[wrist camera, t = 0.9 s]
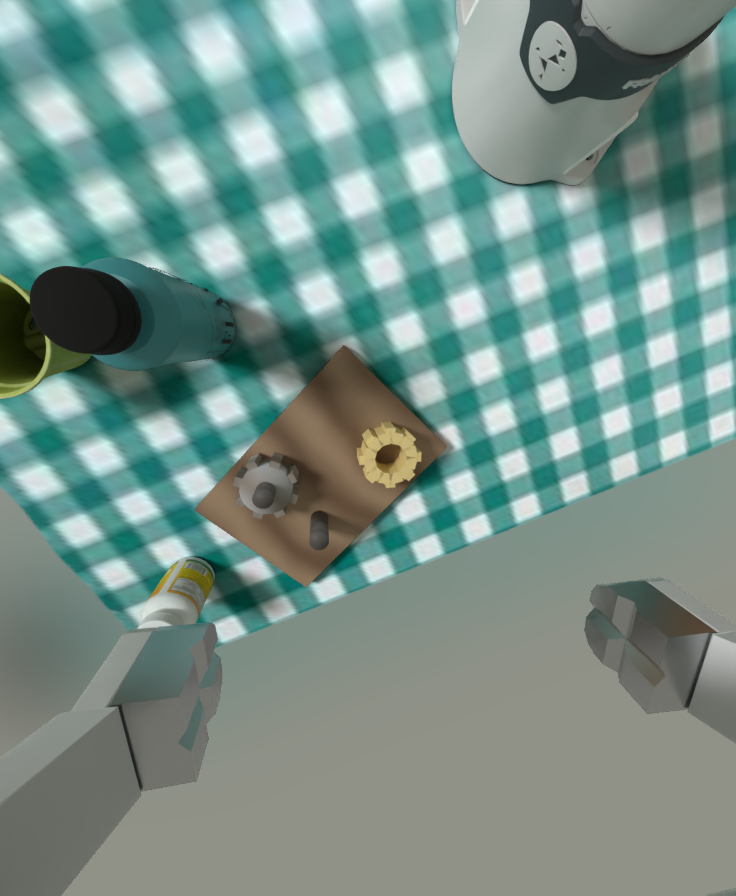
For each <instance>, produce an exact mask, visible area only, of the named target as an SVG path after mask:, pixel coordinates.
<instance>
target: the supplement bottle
mask: <svg viewBox="0 0 736 896" xmlns="http://www.w3.org/2000/svg"><path fill="white" fill-rule="evenodd" d="M214 580H215V574H214V571H213V569H212V567H211V565H210V564H208V563H207V562H206V561H204V560H202V559H200V558H196V557H185V558H182V559H179V560H177V561H176V562H175V563H174V564H173V565H172V566H171V567H170V568H169V570H168V571H167V573H166V574H165V576H164V577H163V579H162V580H161V582H160V583H159V584H158V586H157V587H156V589H155V590H154V592H153V593H152V595H151V596H150V598H149V599H148V601H147V602H146V604H145V605H144V607H143V609H142V613H141V621H142V622H141V623H140V625H139V627H138V628H137V629H141V628H154V627H156V628H158V627H161V626H174V625H188V624H195V623H196V621H197V619H198V617H199V615H200V612H201V610H202V608H203V606H204V603H205V601H206V599H207V597H208V595H209V592H210V590H211V588H212V586H213V583H214Z"/></svg>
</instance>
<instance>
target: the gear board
mask: <svg viewBox="0 0 736 896" xmlns="http://www.w3.org/2000/svg"><path fill="white" fill-rule="evenodd" d="M381 422H391V423H392V424H393V425H394V427H397V428H399V429H402V428H403V427H404V428H406V429H407V430H408V431H409V432H410V433H411V434H412V435H413V437H414V438H415V439H416V440H415V441H414V442H413V443H414V444H415V446H416V447H417V448H418V449H419V450H420V451H421V462H417V463H416V467H415V470H413V469H412V470H413V471H414V474H415V475H414V476H413V477H412V478H411V479H410V480H409V481H408V480H407V479H406V480H404V479H403V481H402V482H399V483H395V487H393V488H386V487H385V485H384V484H383V483H378V481H377V482H376V481H374V482H373V484H372V483H371V482H370V481H369V480H368V479H366V477H365V474H364V471H363V468H364V467H365V466H364V465H359V461H358V458H357V448H361V446H362V442H363V440H364V439H363V436H362V434H363V433H364V432H365V431H366V430H367V429H368V428H369V429H370V430H373V431H374V429H375V428H378V427H381ZM446 448H447V446H446V445H445V444H444V443H443V442H442V441H441V440H440V439H439V438H438V437H437V436H436V435H435V434H434V433H433V432H432V431H431V430H430V429H429V428H427V427H426V426H425V425H424V424H423V423H422V422H421V421H420V420H419V419H418V418H417V417H416V416H415V415H414V414H413V413H412V412H411V411H410V410H409V409H408V408H407V407H406V406H405V405H404V404H403V403H402V402H401V401H400V400H399V399H398V398H397V397H396V396H395V395H394V394H393V393H392V392H391V391H390V390H389V389H388V388H387V387H386V386H385V385H384V384H383V383H382V382H381V381H380V380H379V379H378V378H377V377H376V376H375V375H374V374H373V373H372V372H371V371H370V370H369V369H368V368H367V367H366V366H365V365H364V364H362V363H361V362H360V361H359V360H358V359H357V358H356V357H355V356H354V355H353V354H352V353H351V352H350V351H349V350H348V349H347V348H346V347H345V346H344V345H343V346H342V347H341V348H340V349H339V350H338V351H337V353H336V354H335V355H334V356H333V357H332V358H331V359H330V360H329V361H328V362H327V364H326V365H325V366H324V367H323V368H322V369H321V370H320V371H319V372H318V373H317V375H316V376H315V377H314V378H313V379H312V380H311V381H310V382H309V383H308V384H307V386H306V387H305V388H304V389H303V390H302V391H301V392H300V393H299V394H298V395H297V397H296V398H295V399H294V400H293V401H292V402H291V403H290V404H289V405H288V406H287V408H286V409H285V410H284V411H283V412H282V413H281V414H280V415H279V416H278V417H277V419H276V420H275V421H274V422H273V423H272V424H271V425H270V426H269V427H268V428H267V430H266V431H265V432H264V433H263V434H262V435H261V436H260V437H259V438H258V439H257V441H256V442H255V443H254V444H253V445H252V446H251V447H250V448H249V449H248V450H247V452H246V453H245V454H244V455H243V456H242V457H241V458H240V459H239V460H238V461H237V463H236V464H235V465H234V466H233V467H232V468H231V469H230V470H229V471H228V472H227V474H226V475H225V476H224V477H223V478H222V479H221V480H220V481H219V482H218V483H217V485H216V486H215V487H214V488H213V489H212V490H211V491H210V492H209V493H208V494H207V496H206V497H205V498H204V499H203V500H202V501H201V502H200V503H199V504H198V506H197V507H196V509H195V511H197V512H198V513H199V514H201V515H202V516H204V517H205V518H207V519H208V520H210V521H211V522H212V523H214V524H215V525H217V526H218V527H220V528H221V529H223V530H224V531H225V532H227V533H228V534H230V535H231V536H233V537H234V538H236V539H237V540H238V541H240V542H241V543H243V544H244V545H246V546H247V547H249V548H250V549H251V550H253V551H254V552H256V553H257V554H259V555H260V556H262V557H263V558H264V559H266V560H267V561H269V562H270V563H272V564H273V565H275V566H276V567H277V568H279V569H280V570H282V571H283V572H285V573H286V574H288V575H289V576H290V577H292V578H293V579H295V580H296V581H298V582H299V583H301V584H302V585H304V586H305V587H307V586H308V585H309V584H310V583H311V582H312V581H313V580H314V579H315V578H316V577H317V576H318V575H319V574H320V573H321V572H322V571H323V570H324V569H325V568H326V567H327V566H328V565H329V564H330V563H331V562H332V561H333V560H334V559H335V558H336V557H337V556H338V555H339V554H340V553H341V552H342V551H343V550H344V549H345V548H346V547H347V546H348V545H349V544H350V543H351V542H352V541H353V540H354V539H355V538H356V537H357V536H358V535H359V534H360V533H361V532H362V531H363V530H364V529H365V528H366V527H367V526H368V525H369V524H370V523H371V522H372V521H373V520H374V519H375V518H377V517H378V516H379V515H380V514H381V513H382V512H383V511H384V510H385V509H386V508H387V507H388V506H389V505H390V504H391V503H392V502H393V501H394V500H395V499H396V498H397V497H398V496H399V495H400V494H401V493H402V492H403V491H404V490H405V489H406V488H407V487H408V486H409V485H410V484H411V483H412V482H413V481H414V480H415V479H416V478H417V477H418V476H419V475H420V474H421V473H422V472H423V471H424V470H425V469H426V468H427V467H428V466H429V465H430V464H431V463H432V462H433V461H434V460H435V459H436V458H437V457H438V456H439V455H440V454H441V453H442V452H443V451H444V450H445V449H446ZM400 450H401V449H400V446H399V445H395V444H388V445H385V446H383V447H382V448H381V449H380V450H379V451H378V452H377V454H376V458H375V460H376V461H377V462H378V463H381V464H389V463H392V462H394V461H395V460H396V459H397V458H398V457H399V453H400Z"/></svg>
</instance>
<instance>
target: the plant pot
mask: <svg viewBox="0 0 736 896" xmlns="http://www.w3.org/2000/svg"><path fill="white" fill-rule="evenodd" d="M29 299H30V291H28V290H25V289H22V288H21V287H20V286H19V285H18V284H16V283H15V282H14V281H12V280H11V279H9V278H7V277H6V276H4V275H2V274H0V399H2V398H10V397H14V396H18V395H21V394H24V393H26V392H28V391H30V390H32V389H33V388H34V387H36V386H37V385H38V384H39V383H40V382H41V381H42V380H43V379H44V378H46V377H49V376H51V375H54V374H57V373H61V372H64V371H67V370H70V369H73V368H76V367H78V366H80V365H82V364H84V363H85V362H87V361H88V360H89V358H90V357H91V354H83V353H76V352H72V351H69V350H67V349H64V348H62V347H60V346H58V345H56V344H55V343H53V342H52V341H51V340H50V339H48V338H47V337H46V336H45V335H44V334H43V332H42V331H41V330H40V329H39V327H38V326H37V324H36V323H35V325H34V330H31V328H30V322H31V320H32V318H33V316H32V313H31V309H30V300H29ZM45 354H46V355H45Z"/></svg>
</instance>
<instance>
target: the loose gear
mask: <svg viewBox="0 0 736 896" xmlns="http://www.w3.org/2000/svg"><path fill="white" fill-rule="evenodd" d="M362 436H363V439H364V440H363V442H362V446H361V448H357V458H358V461H359V465H364V466H365V467H364V468H363V471H364V474H365V477H366V479H368V480H369V481H370V482H371V483H372V484H373V482H374V481H376V482H377V481H378V483H383V484H384V485H385V487H386V488H393V487H395V483H399V482H402V481H403V479H404V480H406V479H407V480H408V481H409V480H410V479H411V478H412V477H413V476H414V475H415V474H414V471H413V470H415V467H416V463H417V462H421V451H420V450H419V449H418V448H417V447H416V446H415V444H414V443H413V442H414V441H415V440H416V439H415V438H414V437H413V435H412V434H411V433H410V432H409V431H408V430H407V429H406V428H404V427H403V428H402V429H399V428H397V427H394V425H393V424H392V423H391V422H381V427H378V428H375V429H374V431H373V430H370V429H369V428H368V429H367V430H366V431H365V432H364V433H363V434H362ZM388 444H395V445H399V446H400V449H401V450H400V453H399V457H398V458H397V459H396V460H395V461H394V462H392V463H389V464H381V463H378V462H377V461H376V460H375V458H376V454H377V452H378V451H379V450H380V449H381V448H382V447H383V446H385V445H388ZM412 469H413V470H412Z"/></svg>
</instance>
